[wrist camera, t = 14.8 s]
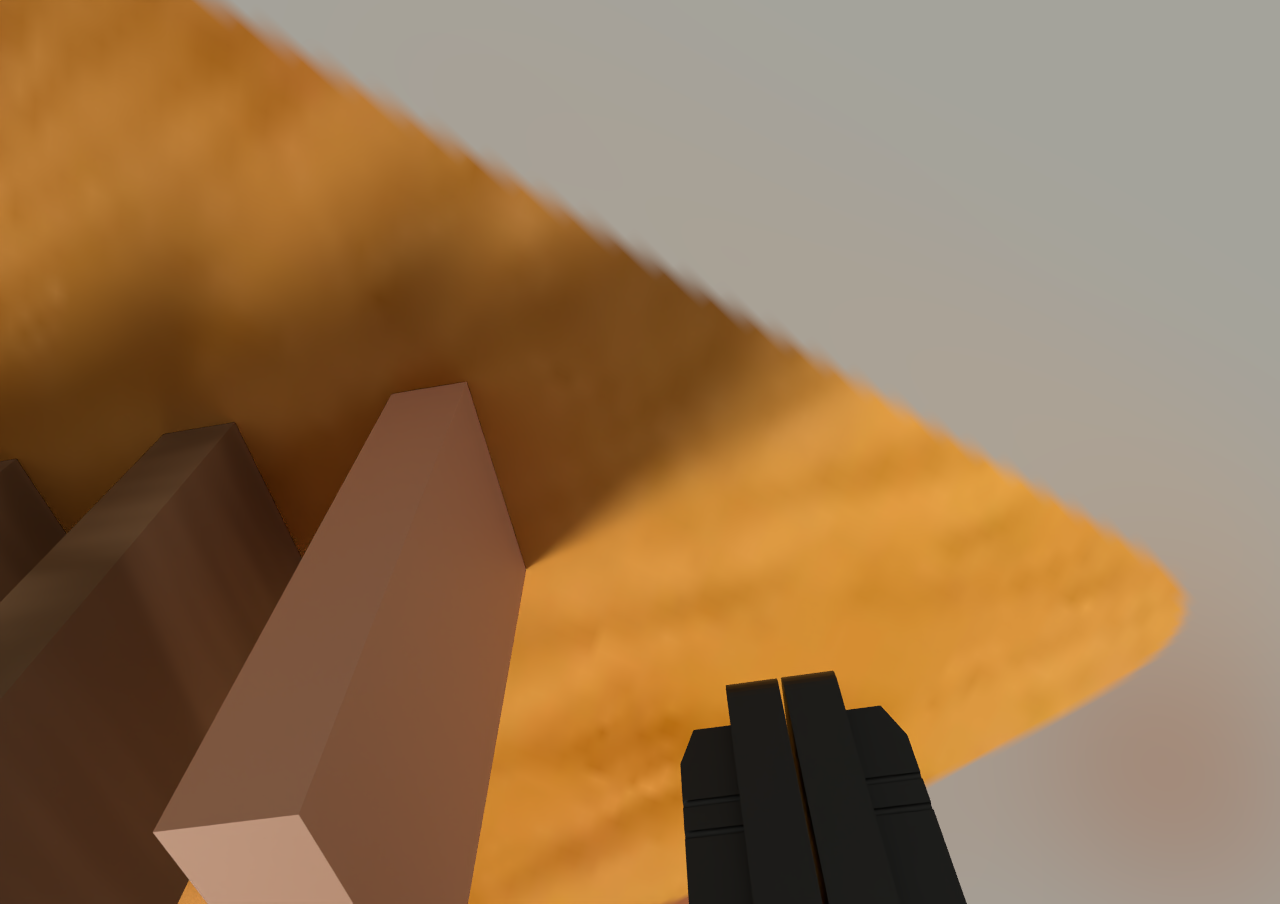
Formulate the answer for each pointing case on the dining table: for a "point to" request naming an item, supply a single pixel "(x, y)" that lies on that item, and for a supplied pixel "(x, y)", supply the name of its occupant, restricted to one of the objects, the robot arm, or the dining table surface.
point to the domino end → (368, 687)
